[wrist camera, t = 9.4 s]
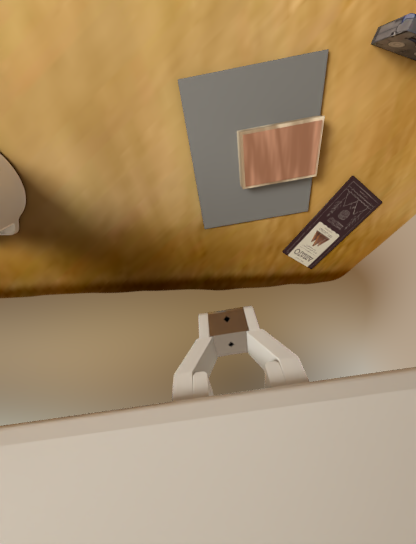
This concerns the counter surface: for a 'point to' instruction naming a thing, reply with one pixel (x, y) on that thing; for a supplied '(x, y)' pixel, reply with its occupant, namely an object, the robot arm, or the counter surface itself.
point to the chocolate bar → (333, 223)
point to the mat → (244, 115)
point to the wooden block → (279, 151)
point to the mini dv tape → (398, 36)
